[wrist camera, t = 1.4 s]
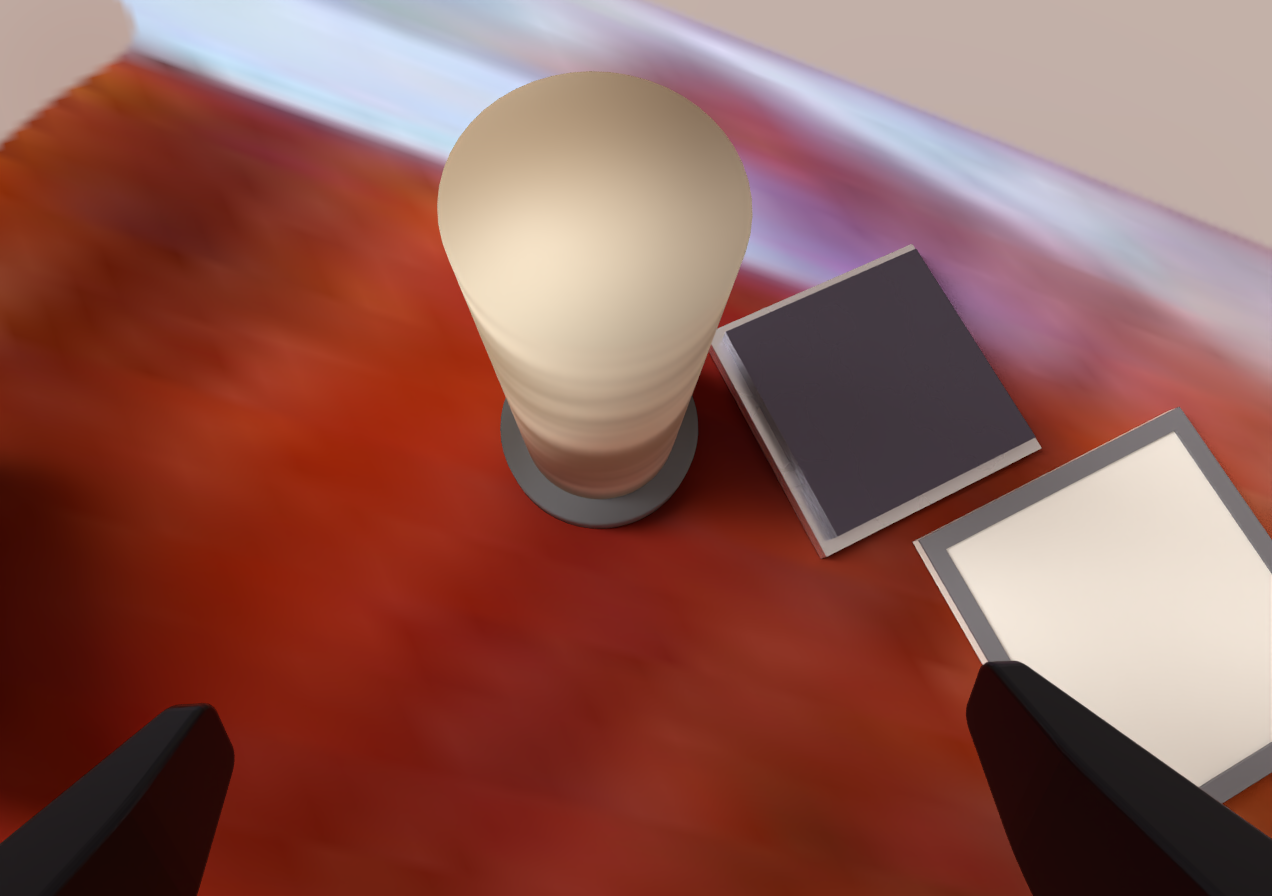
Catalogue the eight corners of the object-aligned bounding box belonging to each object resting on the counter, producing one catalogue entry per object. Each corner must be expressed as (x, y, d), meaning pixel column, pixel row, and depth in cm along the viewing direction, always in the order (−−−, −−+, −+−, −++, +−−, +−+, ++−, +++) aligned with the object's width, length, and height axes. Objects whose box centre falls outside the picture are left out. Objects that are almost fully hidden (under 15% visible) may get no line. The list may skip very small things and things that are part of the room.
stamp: (725, 479, 22) (873, 294, 10) (552, 561, 21) (484, 467, 9) (643, 321, 24) (686, -14, 11) (476, 392, 23) (329, 112, 10)
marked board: (1366, 700, 21) (1383, 702, 21) (1098, 867, 20) (1111, 873, 19) (1167, 411, 24) (1179, 406, 23) (912, 541, 22) (919, 539, 21)
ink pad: (1030, 452, 23) (1053, 443, 22) (820, 558, 22) (832, 554, 21) (904, 253, 25) (919, 234, 23) (703, 341, 23) (708, 325, 22)
